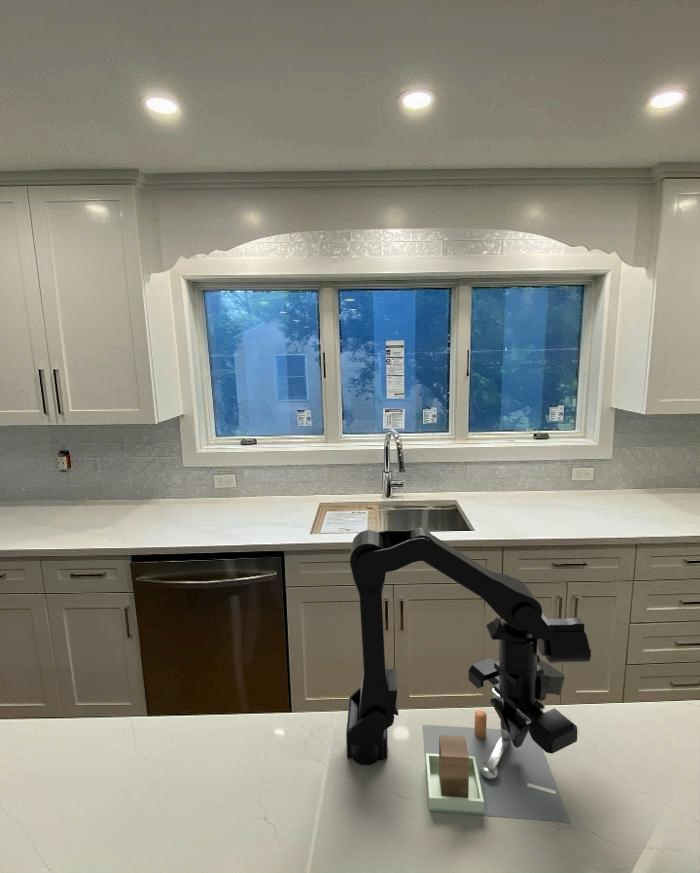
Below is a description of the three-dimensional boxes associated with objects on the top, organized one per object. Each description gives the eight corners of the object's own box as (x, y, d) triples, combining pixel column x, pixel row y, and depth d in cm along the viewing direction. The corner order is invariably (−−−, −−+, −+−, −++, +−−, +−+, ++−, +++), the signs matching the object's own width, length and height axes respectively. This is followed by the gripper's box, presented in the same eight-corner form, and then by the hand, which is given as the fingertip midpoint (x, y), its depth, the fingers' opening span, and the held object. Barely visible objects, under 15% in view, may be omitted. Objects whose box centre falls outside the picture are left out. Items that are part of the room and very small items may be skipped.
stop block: (468, 799, 68) (468, 757, 67) (441, 797, 68) (441, 756, 67) (464, 775, 72) (465, 736, 71) (439, 773, 72) (439, 734, 71)
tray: (429, 810, 67) (429, 797, 66) (426, 765, 74) (426, 753, 74) (483, 814, 66) (483, 801, 65) (474, 768, 73) (474, 756, 73)
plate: (428, 818, 67) (428, 787, 66) (422, 730, 83) (422, 705, 82) (570, 829, 64) (571, 797, 64) (535, 737, 81) (536, 711, 80)
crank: (494, 783, 70) (494, 756, 70) (477, 774, 72) (477, 747, 71) (516, 740, 78) (516, 715, 78) (500, 732, 80) (500, 708, 79)
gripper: (604, 678, 68) (601, 770, 70) (514, 619, 85) (513, 695, 87) (550, 703, 64) (548, 800, 66) (466, 635, 81) (467, 714, 83)
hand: (517, 745), depth 75 cm, fingers closed
